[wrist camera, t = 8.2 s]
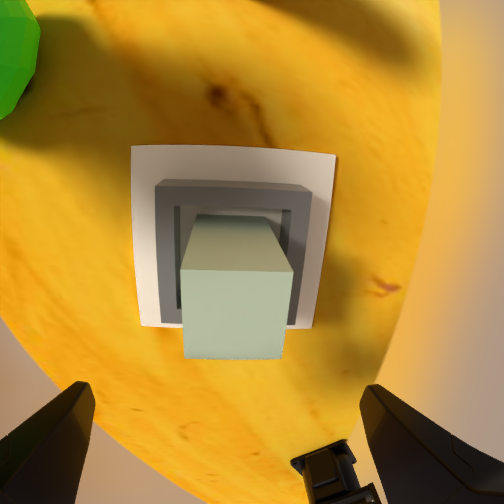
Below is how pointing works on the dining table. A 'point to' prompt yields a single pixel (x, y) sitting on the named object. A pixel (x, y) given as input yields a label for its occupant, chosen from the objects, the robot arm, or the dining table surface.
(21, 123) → the dining table surface
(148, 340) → the dining table surface
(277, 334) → the sage block
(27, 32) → the plastic bottle
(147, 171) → the socket
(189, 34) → the dining table surface
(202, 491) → the dining table surface
